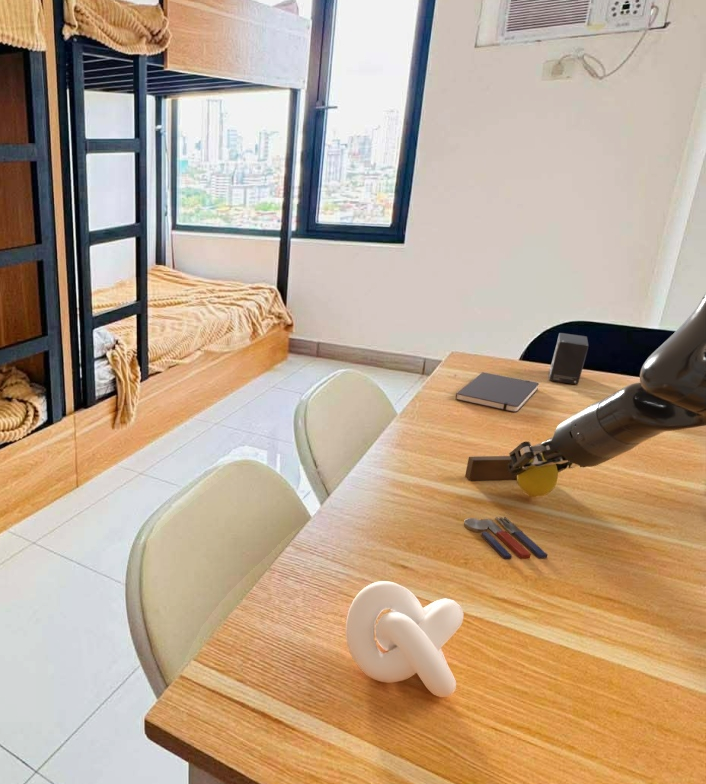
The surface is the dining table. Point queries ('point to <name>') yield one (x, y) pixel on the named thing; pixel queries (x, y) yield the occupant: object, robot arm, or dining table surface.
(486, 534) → the cutlery
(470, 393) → the notebook
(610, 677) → the dining table surface
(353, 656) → the white knot sculpture
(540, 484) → the lemon
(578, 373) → the small box
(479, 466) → the back rail
